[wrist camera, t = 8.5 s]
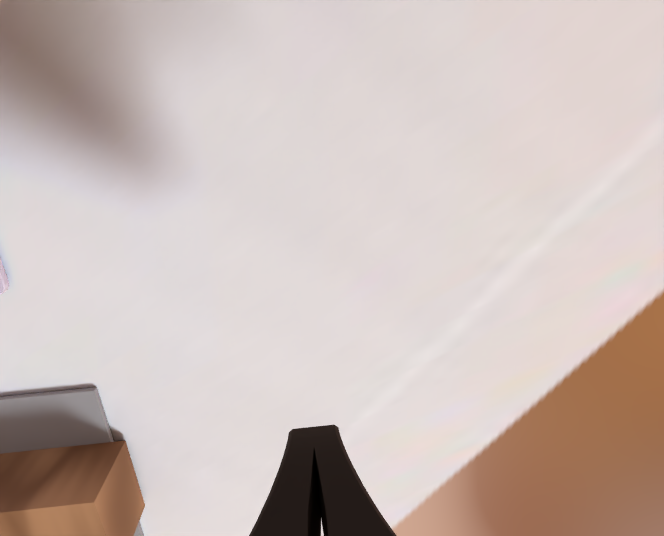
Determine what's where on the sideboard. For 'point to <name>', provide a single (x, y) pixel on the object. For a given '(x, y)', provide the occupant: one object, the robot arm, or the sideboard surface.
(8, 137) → the sideboard surface
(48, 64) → the sideboard surface
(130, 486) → the walnut block
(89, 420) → the slate rubber mat
